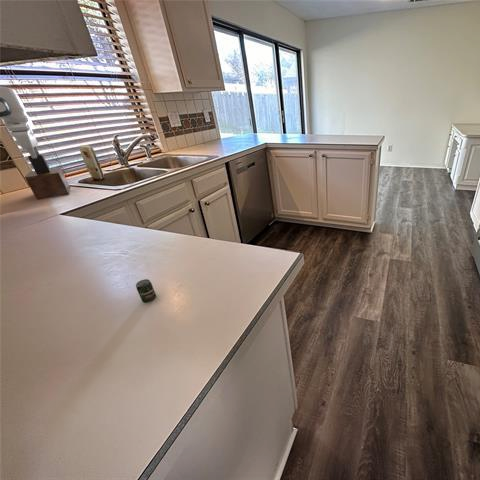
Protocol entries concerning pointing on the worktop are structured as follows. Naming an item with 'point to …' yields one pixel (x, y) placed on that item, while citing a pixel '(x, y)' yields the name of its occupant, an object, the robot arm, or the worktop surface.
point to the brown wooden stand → (48, 183)
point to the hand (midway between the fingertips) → (36, 156)
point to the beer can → (145, 290)
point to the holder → (39, 164)
